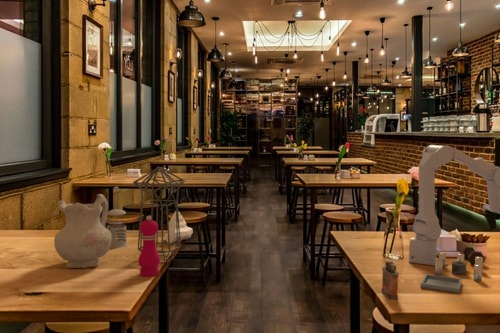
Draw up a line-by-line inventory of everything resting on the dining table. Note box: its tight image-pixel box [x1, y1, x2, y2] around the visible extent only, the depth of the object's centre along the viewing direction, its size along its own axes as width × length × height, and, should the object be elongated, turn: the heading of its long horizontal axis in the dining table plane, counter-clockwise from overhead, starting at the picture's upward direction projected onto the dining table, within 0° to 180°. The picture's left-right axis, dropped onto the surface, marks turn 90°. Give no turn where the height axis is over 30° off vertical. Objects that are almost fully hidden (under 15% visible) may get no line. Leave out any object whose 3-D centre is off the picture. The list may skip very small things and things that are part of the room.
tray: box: [420, 273, 462, 295], centre depth 147 cm, size 11×11×2 cm
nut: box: [451, 260, 467, 276], centre depth 160 cm, size 4×5×4 cm
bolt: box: [461, 246, 486, 266], centre depth 177 cm, size 6×5×15 cm
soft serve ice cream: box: [163, 210, 194, 243], centre depth 205 cm, size 12×15×14 cm
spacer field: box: [434, 251, 484, 282], centre depth 160 cm, size 14×15×5 cm
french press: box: [104, 186, 129, 249], centre depth 194 cm, size 10×12×25 cm
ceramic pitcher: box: [53, 193, 112, 269], centre depth 168 cm, size 22×20×25 cm
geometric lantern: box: [132, 166, 186, 264], centre depth 173 cm, size 16×16×35 cm
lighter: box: [381, 260, 399, 301], centre depth 137 cm, size 8×3×10 cm, turn 5°
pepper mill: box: [138, 215, 161, 278], centre depth 156 cm, size 7×7×20 cm
